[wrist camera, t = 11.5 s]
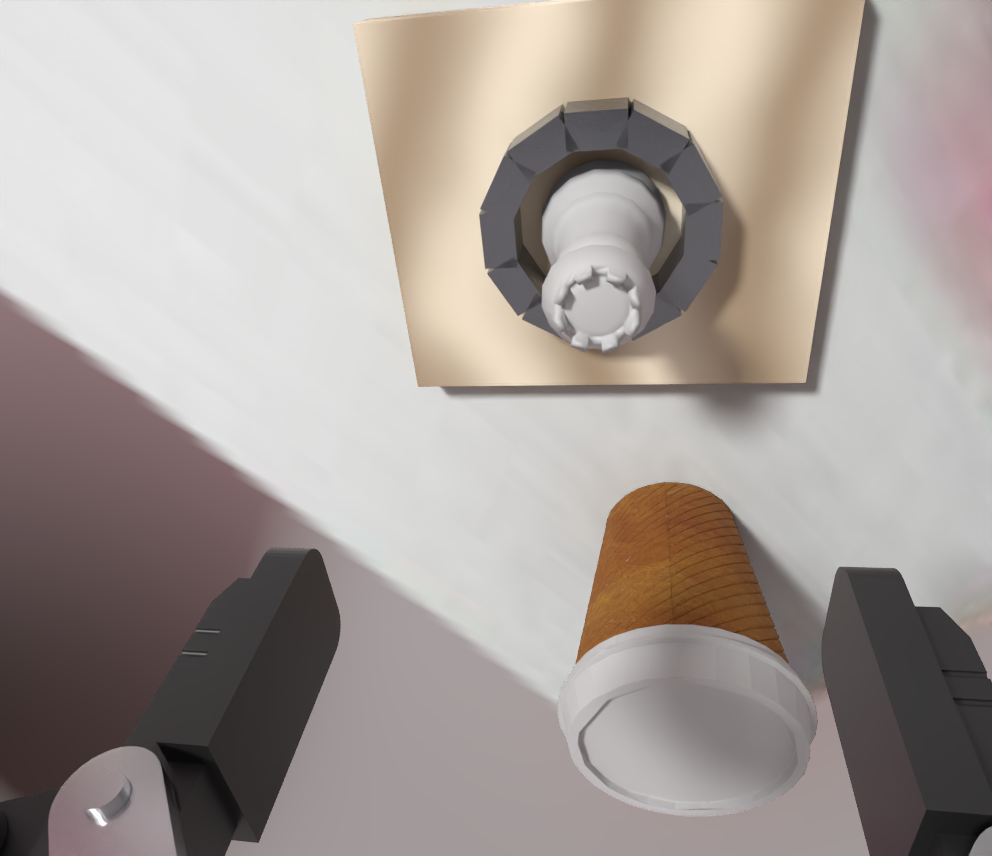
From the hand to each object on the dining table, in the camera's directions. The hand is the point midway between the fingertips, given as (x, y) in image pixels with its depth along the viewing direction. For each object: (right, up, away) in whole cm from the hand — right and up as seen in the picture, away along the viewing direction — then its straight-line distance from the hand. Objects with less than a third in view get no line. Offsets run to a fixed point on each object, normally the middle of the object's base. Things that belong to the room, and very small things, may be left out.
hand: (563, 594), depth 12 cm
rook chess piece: (+3, +10, +15) cm, 19 cm away
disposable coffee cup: (+8, -2, +25) cm, 26 cm away
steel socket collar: (+3, +10, +15) cm, 19 cm away
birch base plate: (+3, +11, +17) cm, 20 cm away
